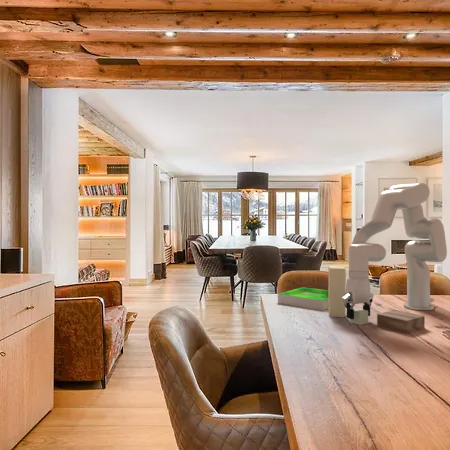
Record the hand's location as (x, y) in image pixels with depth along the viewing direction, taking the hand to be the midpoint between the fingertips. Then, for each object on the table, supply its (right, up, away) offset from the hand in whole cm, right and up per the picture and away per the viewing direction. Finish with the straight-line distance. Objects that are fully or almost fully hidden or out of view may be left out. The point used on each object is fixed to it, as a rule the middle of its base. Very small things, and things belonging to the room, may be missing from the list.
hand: (358, 317), depth 149 cm
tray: (-10, -3, +38) cm, 40 cm away
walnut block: (+14, -2, -7) cm, 16 cm away
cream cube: (0, -2, 0) cm, 2 cm away
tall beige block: (-5, -2, +12) cm, 13 cm away
